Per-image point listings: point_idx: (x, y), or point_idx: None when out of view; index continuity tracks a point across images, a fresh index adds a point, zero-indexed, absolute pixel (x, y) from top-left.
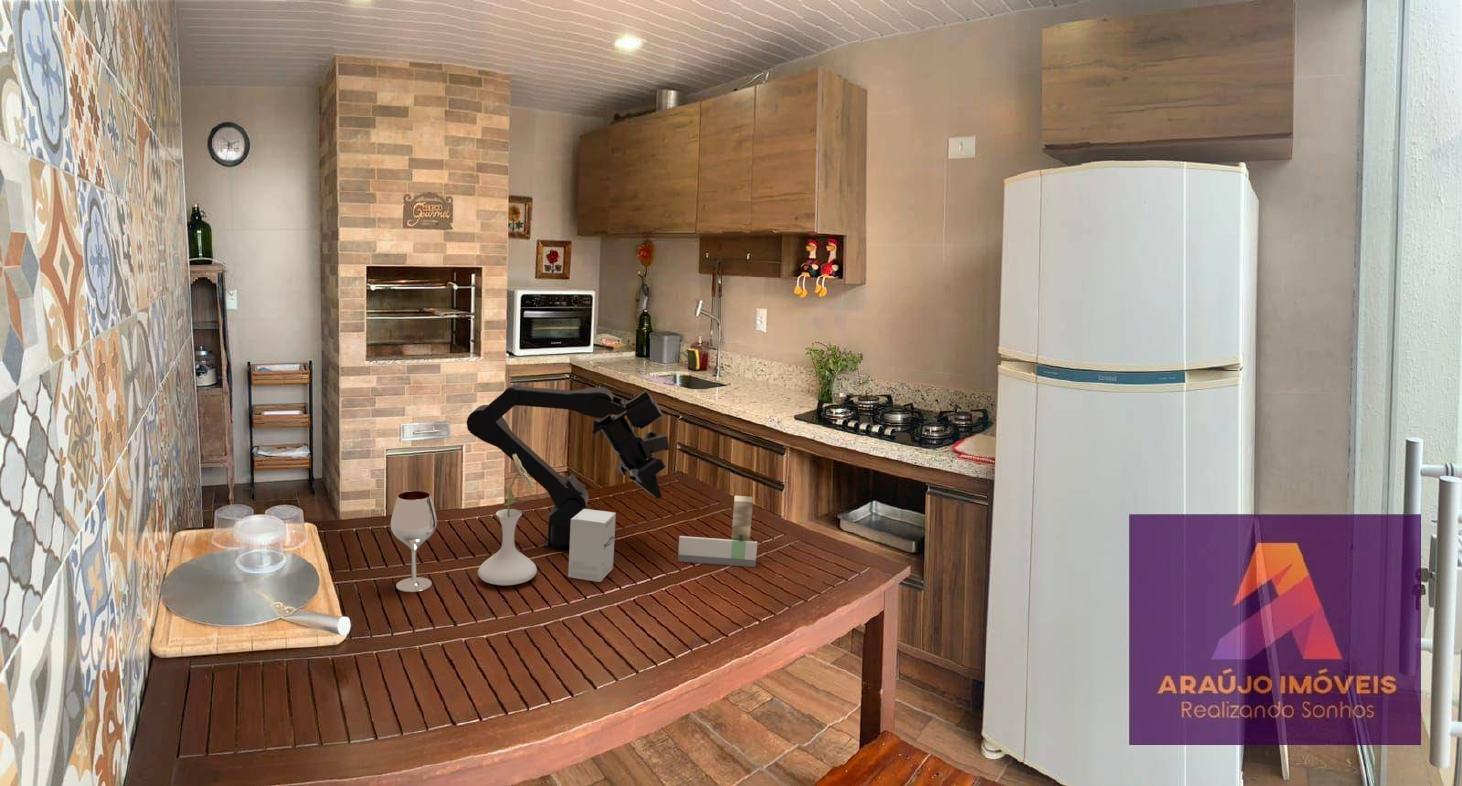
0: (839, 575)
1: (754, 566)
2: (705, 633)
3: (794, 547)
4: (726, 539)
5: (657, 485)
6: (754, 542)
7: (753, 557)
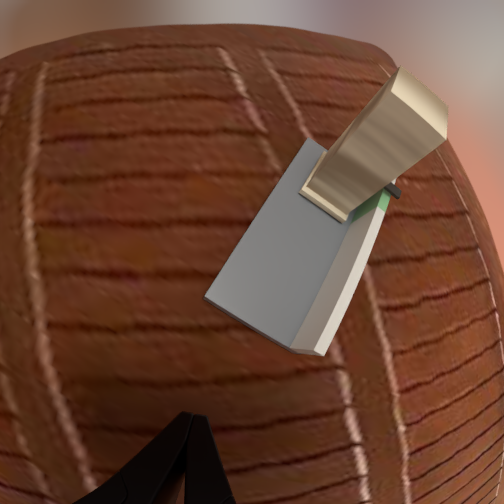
0: None
1: None
2: (496, 391)
3: (290, 73)
4: (373, 219)
5: (228, 488)
6: None
7: None
